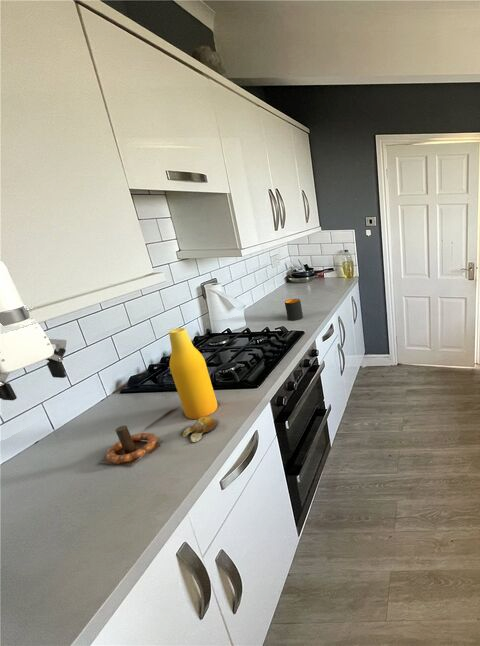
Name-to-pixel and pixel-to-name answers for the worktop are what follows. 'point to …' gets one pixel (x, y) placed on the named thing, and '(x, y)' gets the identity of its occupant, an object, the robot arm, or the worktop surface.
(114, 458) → the ring
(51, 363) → the robot arm
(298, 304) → the mug
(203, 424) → the fruit
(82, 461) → the worktop surface
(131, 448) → the brown peg stand
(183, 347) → the beer bottle
